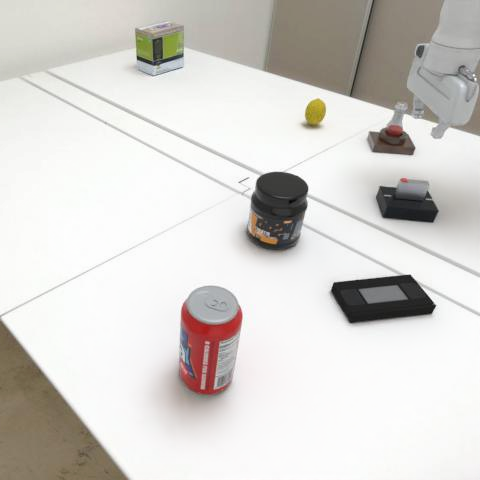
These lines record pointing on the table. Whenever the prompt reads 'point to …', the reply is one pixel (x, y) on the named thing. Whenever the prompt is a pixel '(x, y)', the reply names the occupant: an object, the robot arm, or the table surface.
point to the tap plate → (405, 206)
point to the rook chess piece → (398, 114)
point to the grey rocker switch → (411, 189)
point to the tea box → (159, 47)
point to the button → (394, 130)
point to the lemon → (315, 111)
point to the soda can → (209, 339)
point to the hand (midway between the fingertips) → (425, 126)
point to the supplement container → (277, 210)
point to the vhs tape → (382, 298)
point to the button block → (390, 143)
